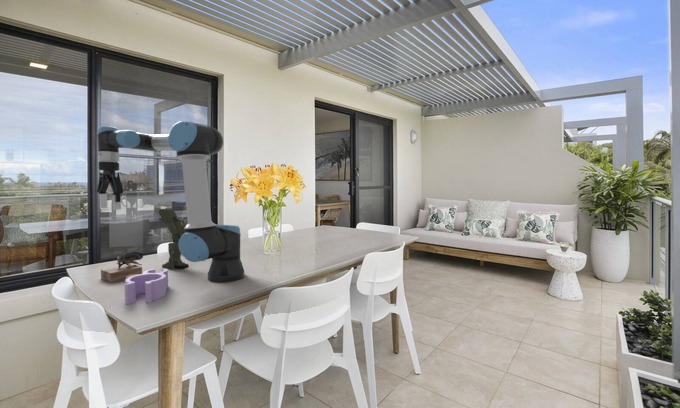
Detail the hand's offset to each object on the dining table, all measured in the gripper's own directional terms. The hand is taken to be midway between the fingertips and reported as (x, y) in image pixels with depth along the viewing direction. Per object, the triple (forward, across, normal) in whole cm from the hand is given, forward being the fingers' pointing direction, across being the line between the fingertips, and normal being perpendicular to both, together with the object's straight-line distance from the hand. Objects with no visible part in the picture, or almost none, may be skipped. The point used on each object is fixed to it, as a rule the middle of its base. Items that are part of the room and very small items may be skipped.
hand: (110, 208), depth 145 cm
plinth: (+29, +14, -2) cm, 32 cm away
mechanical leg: (+29, +16, +20) cm, 39 cm away
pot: (+29, +34, -6) cm, 45 cm away
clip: (+29, +45, -6) cm, 54 cm away
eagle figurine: (+25, +15, +1) cm, 29 cm away
